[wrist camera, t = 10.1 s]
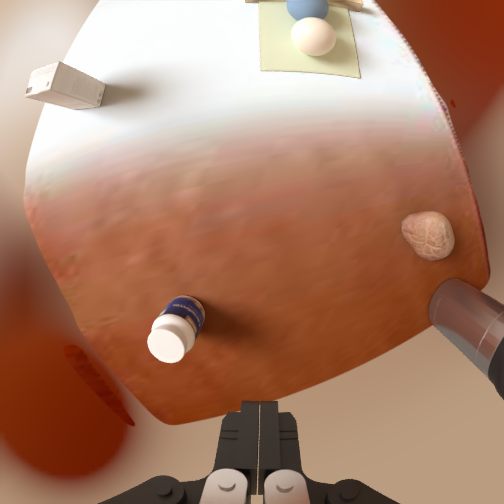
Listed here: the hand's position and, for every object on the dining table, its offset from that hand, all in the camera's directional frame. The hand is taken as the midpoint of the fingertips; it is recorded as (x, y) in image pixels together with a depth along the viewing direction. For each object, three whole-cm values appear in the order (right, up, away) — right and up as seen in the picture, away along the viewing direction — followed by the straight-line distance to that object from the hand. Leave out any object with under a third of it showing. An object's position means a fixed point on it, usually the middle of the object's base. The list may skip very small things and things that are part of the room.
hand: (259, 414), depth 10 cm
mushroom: (+23, +10, +25) cm, 35 cm away
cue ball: (+8, +35, +16) cm, 40 cm away
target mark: (+8, +38, +19) cm, 43 cm away
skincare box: (-26, +31, +22) cm, 46 cm away
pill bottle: (-10, -2, +29) cm, 30 cm away
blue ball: (+7, +41, +15) cm, 45 cm away
